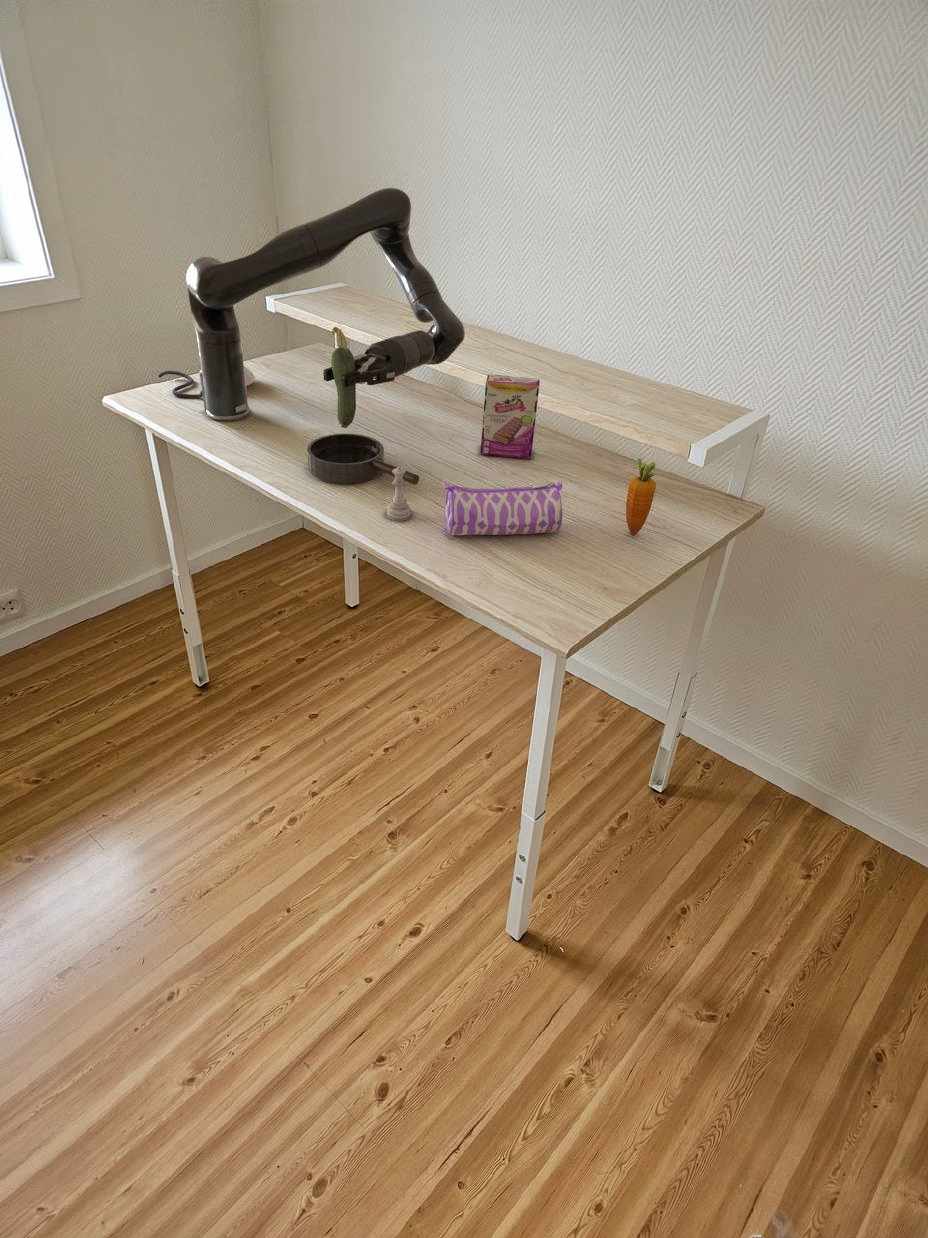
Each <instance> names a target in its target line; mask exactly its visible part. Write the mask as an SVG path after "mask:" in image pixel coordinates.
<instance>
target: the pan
mask: <svg viewBox="0 0 928 1238" xmlns="http://www.w3.org/2000/svg"><path fill="white" fill-rule="evenodd" d="M373 459H378V460H380V461H383V462H385V447H384V445H383V443H381V442H380V440H377V439H376V438H373V437H371V436H369V435H364V434H358V433H348V432H347V433H333V434H327V435H324V436H320V437H318V438H316V439H314V440H312V441H311V442H309V444H308V445H307V447H306V460H307V468H308V469H307V470H308V471H309V473H310V475H313V476H314V477H315V478H317V479H318V480H319V481H322V482H326V483H329V484H335V485H357V484H363V483H367V482H369V481H372V480H374V479H376V478H377V477H378V476H379V475H381V474H382V473H383V472H380V471H378V470H375V469H373V468H371V462H372V460H373Z"/></svg>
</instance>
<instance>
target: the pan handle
mask: <svg viewBox="0 0 928 1238" xmlns="http://www.w3.org/2000/svg"><path fill="white" fill-rule="evenodd" d="M397 467H398V466H396V465H393V464H390V463H387V462H386V461H384V462H383V461H380V460H378V459H373V460H372V462H371V468H373V469H375V470H378V471H380V472H382V473H383V474H384V475H385V474H386V475H388V476H391V477H393V478H396V477H395V475H394V473H393V472H392V471H393V469H395V468H397ZM405 471H406V472H405V474H404V475H403V477H402V478H403V480H404V481H405V483H408V484H411V485H413V486H415V485H416V486H417V484H418V483H419V482H420V476H419V474H417V473H414V472H411V471H408V470H406V469H405Z"/></svg>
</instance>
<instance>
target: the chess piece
mask: <svg viewBox="0 0 928 1238" xmlns="http://www.w3.org/2000/svg"><path fill="white" fill-rule="evenodd" d="M396 467H397V468H395V469H393V471H392V472H393V473H394V475H395V477H394V480H393V481H392V485H393V486H394V487H395V489H394V490H395V491H394V497H393V499H391V501H390V503H389V505H388V506H387V508H386V509H387V511H386V516H387V518H388V519H390V520H392V521H397V522H403V521H406V520H408V519H410V518H411V515H412V513H411V506H410V505H409V504H408V503H407V500H406V499H405V497H404V490H403V487H404V486H406V481H404V480H403V478H402V477H403V475H404V474H405V472H406V471H407V470H406V469H405V468H403V467H401V465H398V466H396ZM405 470H406V471H405Z"/></svg>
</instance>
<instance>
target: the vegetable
mask: <svg viewBox="0 0 928 1238" xmlns="http://www.w3.org/2000/svg"><path fill="white" fill-rule="evenodd" d="M335 334H336V337H335V338H336V345H335V346H336V348H335V349H334V350H333V352H332V355H331V358H330V359H331V361H330V363H331V367H332V371H333V376H334V379H333V380H334V383H335V387H336V393H337V420H338V424H339V425H340V427H341V428H343V429H347V428H348V427H349V426H350V425H351V424H352V423H353V421H354V419H355V416H356V410H357V392H356V391H357V384H354V385H352V386H349V387H347V388H346V387H343V386H342V376H343V375H345V374H348V373H351V372H354V371H355V363H354V357H355V356H354V355H353V353H352V351H351V350H350V349H349V348H348V342H347V339H346V336H345V334H344V332H343V330H342V329H340V328H339V327H338V326H334V327H332V330H331V335H332V336H334V335H335Z"/></svg>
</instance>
